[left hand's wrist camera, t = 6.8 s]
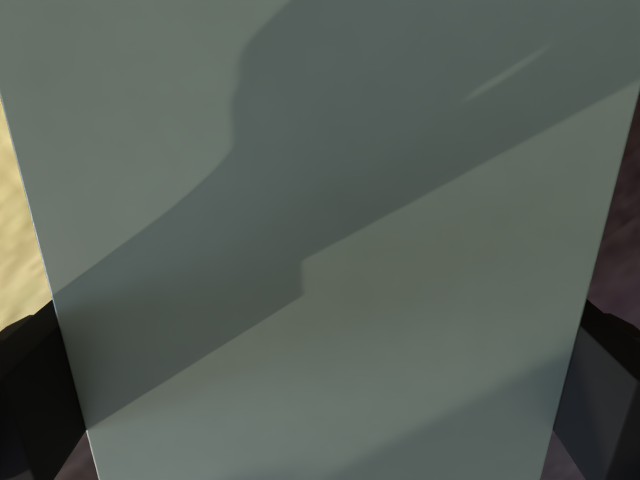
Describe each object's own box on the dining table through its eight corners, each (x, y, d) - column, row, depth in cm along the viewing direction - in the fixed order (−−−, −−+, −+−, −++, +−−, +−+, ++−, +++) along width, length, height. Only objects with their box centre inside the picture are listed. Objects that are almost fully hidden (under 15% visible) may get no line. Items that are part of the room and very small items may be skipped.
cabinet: (144, -177, 13) (-204, -682, 4) (493, -177, 13) (839, -679, 4) (201, 312, 19) (104, 505, 10) (437, 312, 19) (534, 505, 10)
